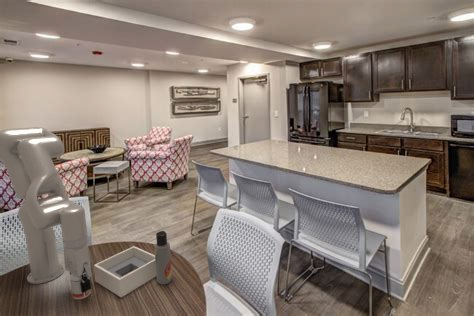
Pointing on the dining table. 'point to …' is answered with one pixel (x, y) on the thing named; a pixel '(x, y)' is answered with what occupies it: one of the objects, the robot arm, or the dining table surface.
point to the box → (126, 270)
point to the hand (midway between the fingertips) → (81, 286)
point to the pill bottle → (78, 287)
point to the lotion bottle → (163, 258)
